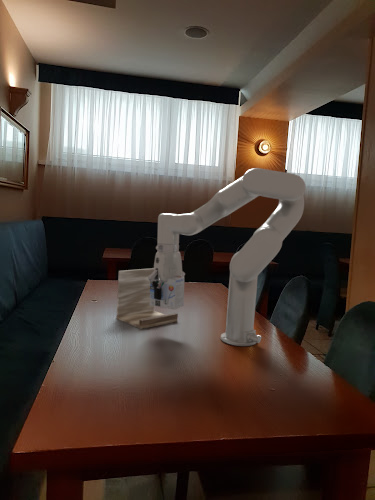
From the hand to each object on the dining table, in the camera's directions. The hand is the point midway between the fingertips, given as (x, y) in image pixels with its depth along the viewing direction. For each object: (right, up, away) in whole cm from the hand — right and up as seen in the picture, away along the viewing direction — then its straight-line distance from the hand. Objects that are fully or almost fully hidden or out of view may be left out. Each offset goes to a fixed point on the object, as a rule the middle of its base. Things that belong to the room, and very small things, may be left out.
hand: (166, 297), depth 137 cm
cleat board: (-9, -11, +15) cm, 21 cm away
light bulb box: (0, -3, 0) cm, 3 cm away
